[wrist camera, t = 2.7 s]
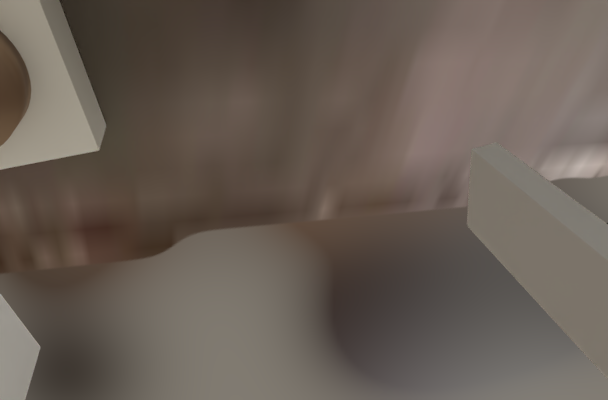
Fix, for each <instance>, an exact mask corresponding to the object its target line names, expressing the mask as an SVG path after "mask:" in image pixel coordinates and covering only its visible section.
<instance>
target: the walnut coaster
mask: <svg viewBox="0 0 608 400" xmlns="http://www.w3.org/2000/svg"><path fill="white" fill-rule="evenodd" d="M30 99H31V82H30V77H29V73H28V70H27V67H26V65H25V63H24V61H23V59H22V57H21V55H20V53H19V52H18V50H17V49H16V47H15V46H14V45H13V43H12V42H11V41H10V40H9V39H8V38H7V36H5V35H4V34H3V33H2V32H1V31H0V146H1V145H3V144H4V143H5V142H6V141H7V140H8V139H9V137H10V136H11V134H12V133H13V131H14V130H15V129H16V127H17V126H18V124H19V123H20V121H21V120H22V118H23V117H24V115H25V114H26V111H27V109H28V107H29V103H30Z"/></svg>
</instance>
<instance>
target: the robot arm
mask: <svg viewBox="0 0 608 400" xmlns="http://www.w3.org/2000/svg"><path fill="white" fill-rule="evenodd" d="M467 216H468V217H467V226H468V227H469V228H470V229H471V231H472V232H473V233H474V234H475V235H476V236H477V237H478V238H479V239H480V240H481V241H482V242H483V244H484V245H485V246H486V247H487V248H488V249H489V250H490V251H491V252H492V253H493V255H494V256H495V257H496V258H497V259H498V260H499V261H500V262H501V263H502V264H503V265H504V267H505V268H506V269H507V270H508V271H509V272H510V273H511V274H512V275H513V276H514V277H515V279H516V280H517V281H518V282H519V283H520V284H521V285H522V286H523V287H524V288H525V289H526V290H527V292H528V293H529V294H530V295H531V296H532V297H533V298H534V299H535V300H536V301H537V302H538V304H539V305H540V306H541V307H542V308H543V309H544V310H545V311H546V312H547V313H548V315H549V316H550V317H551V318H552V319H553V320H554V321H555V322H556V323H557V324H558V325H559V327H560V328H561V329H562V330H563V331H564V332H565V333H566V334H567V335H568V336H569V337H570V339H571V340H572V341H573V342H574V343H575V344H576V345H577V346H578V347H579V348H580V349H581V350H582V352H583V353H584V354H585V355H586V356H587V357H588V358H589V359H590V360H591V361H592V363H593V364H594V365H595V366H596V367H597V368H598V369H599V370H600V371H601V372H602V373H603V374H604V376H605V377H606V378H607V379H608V223H605V222H604V221H602V220H601V219H600V218H598V217H597V216H596V215H594V214H593V213H592V212H590V211H589V210H588V209H586V208H585V207H583V206H582V205H581V204H579V203H578V202H577V201H575V200H574V199H573V198H571V197H570V196H568V195H567V194H566V193H564V192H563V191H562V190H560V189H559V188H558V187H556V186H555V185H554V184H552V183H551V182H549V181H548V180H547V179H545V178H544V177H543V176H541V175H540V174H539V173H537V172H536V171H535V170H533V169H532V168H530V167H529V166H528V165H526V164H525V163H524V162H522V161H521V160H520V159H518V158H517V157H516V156H514V155H513V154H511V153H510V152H509V151H507V150H506V149H505V148H503V147H502V146H501V145H499V144H498V143H493V144H489V145H485V146H482V147H478V148H474V149H472V152H471V168H470V184H469V199H468V215H467ZM39 351H40V346H39V344H38V343H37V342H36V340H35V339H34V338H33V336H32V335H31V334H30V332H29V331H28V330H27V328H26V327H25V326H24V324H23V323H22V322H21V320H20V319H19V318H18V316H17V315H16V314H15V312H14V311H13V310H12V308H11V307H10V306H9V304H8V303H7V302H6V300H5V299H4V298H3V297H2V295H1V294H0V400H25V398H26V395H27V392H28V388H29V385H30V381H31V378H32V375H33V371H34V368H35V364H36V361H37V358H38V354H39Z"/></svg>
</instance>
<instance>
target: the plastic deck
mask: <svg viewBox="0 0 608 400" xmlns="http://www.w3.org/2000/svg"><path fill="white" fill-rule="evenodd" d="M0 31H1V32H2V33H3V34H4V35H5V36H7V38H8V39H9V40H10V41H11V42H12V43H13V45H14V46H15V47H16V49H17V50H18V52H19V53H20V55H21V57H22V59H23V61H24V63H25V65H26V67H27V70H28V73H29V77H30V82H31V99H30V103H29V107H28V109H27V111H26V114H25V115H24V117H23V118H22V120H21V121H20V123H19V124H18V126H17V127H16V129H15V130H14V131H13V133H12V134H11V136H10V137H9V139H8V140H7V141H6V142H5V143H4V144H3V145H1V146H0V170H1V169H6V168H11V167H17V166H22V165H27V164H32V163H37V162H42V161H48V160H53V159H58V158H63V157H68V156H73V155H79V154H84V153H89V152H94V151H99V149H100V146H101V142H102V139H103V136H104V132H105V129H106V123H105V121H104V118H103V115H102V113H101V110H100V107H99V105H98V102H97V99H96V97H95V94H94V91H93V89H92V86H91V83H90V81H89V78H88V75H87V73H86V70H85V67H84V65H83V62H82V59H81V57H80V54H79V51H78V49H77V46H76V43H75V41H74V38H73V35H72V33H71V30H70V27H69V25H68V22H67V19H66V17H65V14H64V11H63V9H62V6H61V3H60V1H59V0H0Z"/></svg>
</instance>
